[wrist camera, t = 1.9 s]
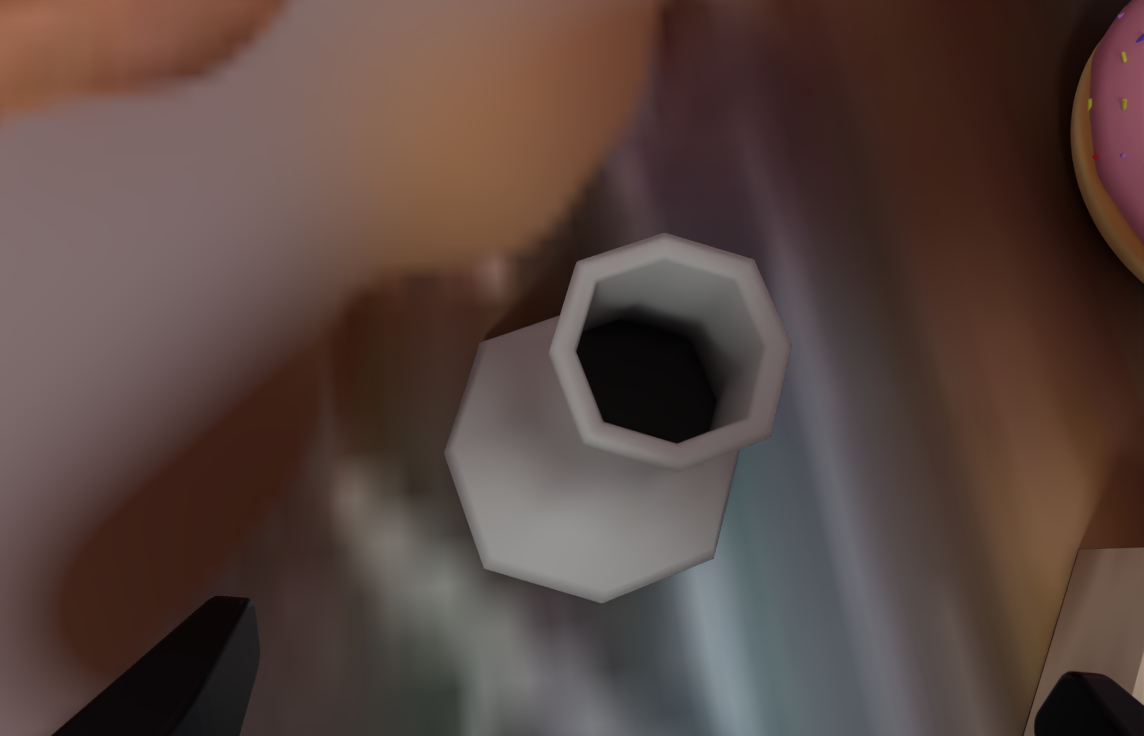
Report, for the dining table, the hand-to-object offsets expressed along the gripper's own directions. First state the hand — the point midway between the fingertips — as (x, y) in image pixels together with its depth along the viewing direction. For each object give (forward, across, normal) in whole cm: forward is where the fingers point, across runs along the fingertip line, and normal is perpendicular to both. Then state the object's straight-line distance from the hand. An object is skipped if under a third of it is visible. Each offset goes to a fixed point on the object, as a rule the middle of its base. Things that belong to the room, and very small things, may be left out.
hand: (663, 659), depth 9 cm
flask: (+10, 0, +5) cm, 12 cm away
